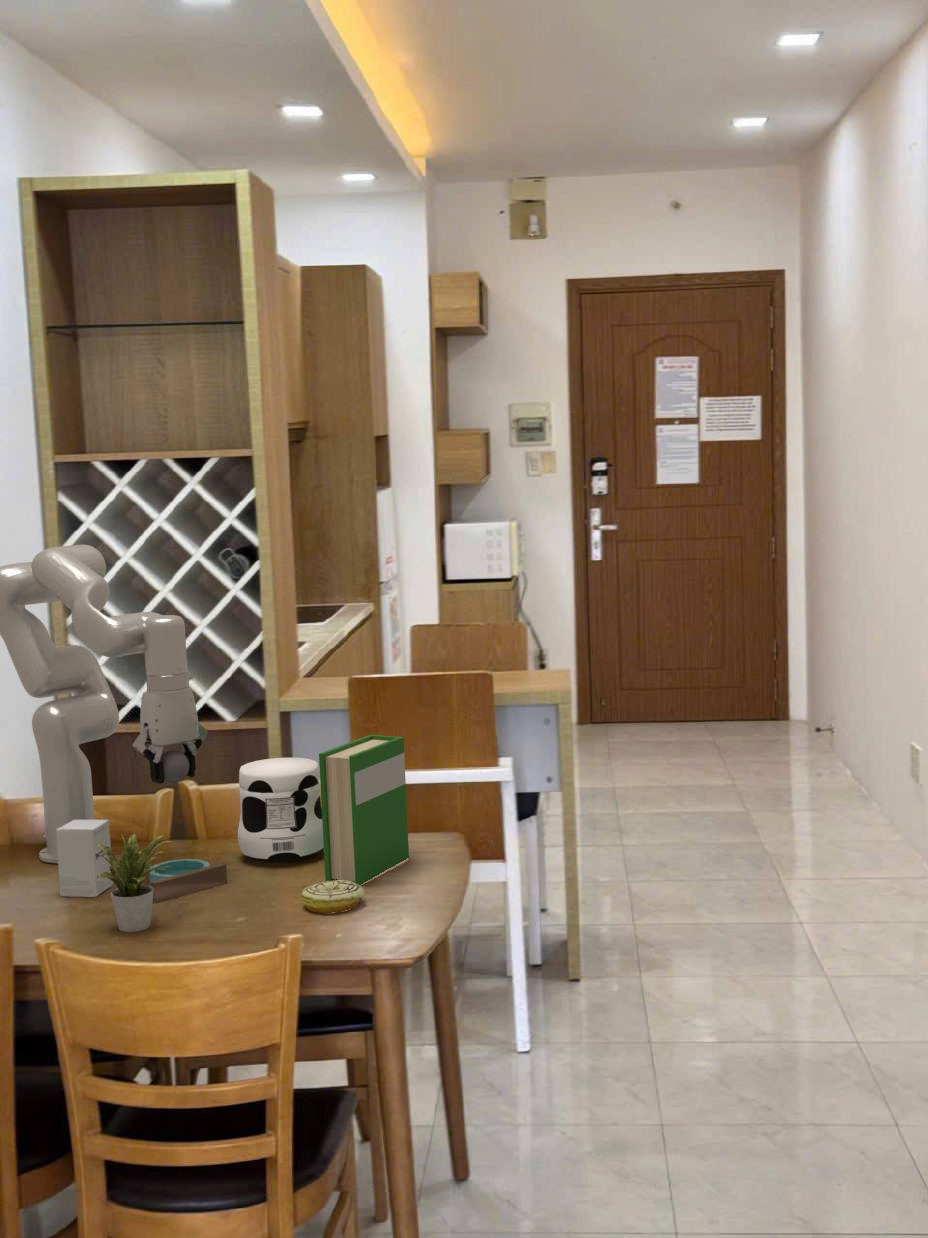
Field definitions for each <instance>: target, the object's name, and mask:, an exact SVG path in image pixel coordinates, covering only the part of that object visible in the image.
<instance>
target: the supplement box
mask: <svg viewBox="0 0 928 1238" xmlns="http://www.w3.org/2000/svg"><path fill="white" fill-rule="evenodd" d="M110 828H111V827H110V820H109V819H94V820H72V821H71V822H69V823H67V824H65V825H64V826H62V827H60V828H58V829H56V839H57V854H58V863H57V866H58V880H59V883H58V884H59V894H60V897H73V898H97V897H98V896H99V895H100V894H102V893H103V892H104V891H106V890H107V889H109V888H111V887H112V886H114V882H113V881H112V880H110V879H109V878H100V879H98V877H99V876H101V875H102V874H101V873H103V872H109V873H111V872H110V865H109V862H108V861H107V860H106V859H105V858H103V857H102V856H101V855H103V856H104V857H106V858H107V859H108V860H109V858H108V856H107V855H106V854H105V852H104V851H103V850H102V849H101V847H99V846H98V845H97V844H96V843H100V844H101V845H103V846H104V847H106V848H107V849H109V850H110V851H111V852H112V846H111V832H110V831H111V830H110ZM94 842H96V843H94ZM98 853H99V854H101V855H99V854H98ZM109 861H110V860H109ZM110 862H111V861H110ZM111 874H112V873H111Z"/></svg>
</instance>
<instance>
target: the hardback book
mask: <svg viewBox="0 0 928 1238" xmlns="http://www.w3.org/2000/svg"><path fill="white" fill-rule="evenodd" d="M404 741H405V738H404V736H392V735H378V734H377V735H376V734H369V735H366V736H363V737H361V738H358V739H356V740H352V741H350V742H347V743H344V744H341V745H338V746H337V747H333V748H330V749H328V750H325V751H323V752H320V753H318V763H319V764H318V767H319V776H320V777H319V782H320V800H321V808H322V823H323V843H324V848H323V857H324V861H323V862H324V876H325V878H324V879H325V881H333V880H335V879H337V880H348V881H351V882H354V883H356V884H358V885H361V884H363V883H364V882H366V881H368V880H370V879H372V878H373V877H375V876H377V875H379V874H380V873H382V872H384V871H385V870H387V869H389V868H391V867H393V866H395V865H396V864H398V863H400V862H402V861H404V860H406V859H407V858H409V859H410V853H409V852H410V849H409V848H410V847H409V828H408V805H407V803H408V802H407V785H406V782H407V781H406V764H405V761H406V759H405V742H404ZM325 881H324V882H325Z"/></svg>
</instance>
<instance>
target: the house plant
mask: <svg viewBox="0 0 928 1238" xmlns="http://www.w3.org/2000/svg"><path fill="white" fill-rule="evenodd" d="M165 835H166V833H164V834H161V835H159V836H158V837H156V838H154V839H153V840H152V841H151V842H150V843H149V845H148V846H147V847H146V848H145V849H142V850H140V851H139V850H138V849H139V845H138V844H139V843H138V838H137V834H136V832H135V831H134V829H133V831H132V834H131V835H130V836H129V838H128V841H127V840H126V839H125V837H124V835H123V834H120V836H121V838H122V841H123V844H124V848H125V850H124V851H123V852H122V853H121V856H120V855H119V856H118V857H116V856H115V855H114V853H113V852H112V850H111V851H110V850H109V849H107V848H106V847H104V846H103V845H101V844H100V843H96V842H94V843H96V844H97V845H98V846H99V847H101V849H102V850H103V851H104V852H105V854H106V855H107V856H108V858H109V860H110V861H111V862H110V861H109V860H108V859H107V858H106V857H104V856H103V855H101V854H99V853H98V854H99V855H101V856H102V857H103V858H105V859H106V860H107V861H108V862H109V865H110V872H111V873H112V874H111V873H109V872H103V873H101V874H102V875H101V876H99V877H98V879H100V878H109V879H110V880H112V881H113V884H114V885H116V887H117V888H115V889H113V890H112V891H111V892H110V897H111V903H112V905H113V910H114V913H115V917H116V921H117V927H118V929H119V931H121V932H125V933H134V932H135V933H136V932H140V931H141V932H142V931H144V930H147V929H149V928H150V927H151V922H152V911H153V891H154V888H153V887H151V886H150V885H148V882H149V881H147V882H146V883H145V884H142V883H143V881H144V880H145V879H146V877H147V876H148V874H149V873H150V872H151V871H153V870H158V871H160V870H166V869H163V868H165V867H170V866H165V867H163V868H153V869H151V870H149V869H150V868H151V867H152V866H154V865H155V864H151V862H153V860H154V859H156V858H157V857H158V856H156V855H157V854H161V853H163V851H157V852H155V853H153V854H152V852H153V851H154V850H156V849H157V848H158V847H159V846H161V845H162V844H166V843H171V842H173V840H165V841H160V839H161V838H163V837H164V836H165ZM140 854H142V855H141V858H140ZM151 854H152V856H151V857H150V855H151ZM149 857H150V858H149ZM148 858H149V859H148ZM158 871H157V872H158ZM166 871H167V870H166ZM157 872H156V873H157ZM156 873H155V874H156ZM155 874H154V875H155ZM154 875H153V876H154ZM153 876H152V877H153ZM152 877H151V878H152Z"/></svg>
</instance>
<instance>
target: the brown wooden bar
mask: <svg viewBox="0 0 928 1238" xmlns="http://www.w3.org/2000/svg"><path fill="white" fill-rule="evenodd" d="M227 872H228V871H227V864H226V863H223V862H220V863H216V864H212V865H209V866H208V867H204V868H201V869H197V870H193V871H189V872H186V873H182V874H178V875H174V876H171V877H167V878H163V879H160V880H156V881H152V882H150V881H149V884H150V885H149V886H151V887H153V888H154V891H153V901H152V903H156V904H157V903H161V902H165V901H168V900H172V899H175V898H178V897H182V896H186V895H189V894H193V893H197V892H200V891H204V890H207V889H210V888H214V887H218V886H222V885H226V884H228V876H227V875H228V873H227Z"/></svg>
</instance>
